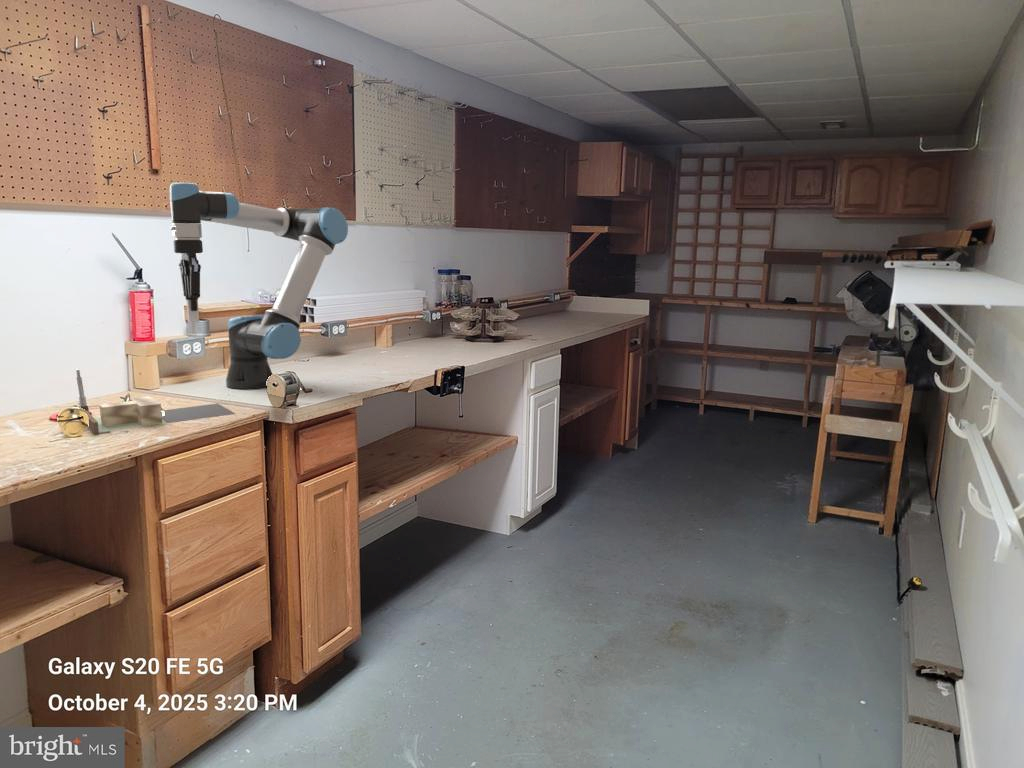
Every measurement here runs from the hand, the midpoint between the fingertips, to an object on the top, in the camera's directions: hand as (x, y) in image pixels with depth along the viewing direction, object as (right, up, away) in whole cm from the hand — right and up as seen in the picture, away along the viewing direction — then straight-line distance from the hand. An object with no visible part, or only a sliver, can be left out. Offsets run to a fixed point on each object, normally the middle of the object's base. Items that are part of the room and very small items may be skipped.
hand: (193, 321), depth 215 cm
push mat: (-3, -27, -13) cm, 30 cm away
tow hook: (-29, -27, -12) cm, 41 cm away
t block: (-9, -28, -18) cm, 34 cm away
